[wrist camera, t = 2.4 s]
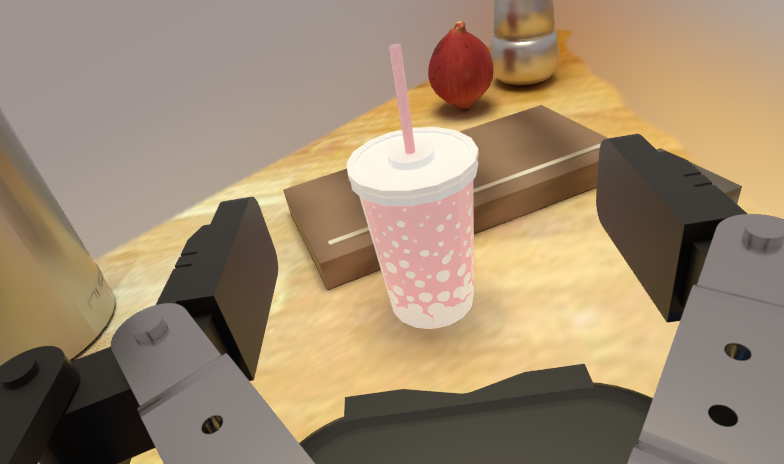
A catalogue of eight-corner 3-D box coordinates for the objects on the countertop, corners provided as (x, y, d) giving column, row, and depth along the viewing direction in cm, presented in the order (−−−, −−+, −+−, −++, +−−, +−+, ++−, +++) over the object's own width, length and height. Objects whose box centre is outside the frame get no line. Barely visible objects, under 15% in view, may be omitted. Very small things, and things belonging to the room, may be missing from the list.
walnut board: (367, 371, 26) (359, 341, 25) (290, 212, 39) (282, 188, 38) (734, 215, 31) (742, 184, 30) (556, 122, 45) (556, 98, 43)
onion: (430, 123, 48) (419, 34, 44) (436, 99, 53) (427, 16, 48) (494, 119, 47) (490, 27, 42) (495, 94, 52) (491, 8, 47)
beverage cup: (508, 315, 27) (499, 44, 19) (399, 356, 26) (341, 86, 18) (458, 252, 32) (434, 15, 24) (364, 284, 31) (307, 47, 23)
